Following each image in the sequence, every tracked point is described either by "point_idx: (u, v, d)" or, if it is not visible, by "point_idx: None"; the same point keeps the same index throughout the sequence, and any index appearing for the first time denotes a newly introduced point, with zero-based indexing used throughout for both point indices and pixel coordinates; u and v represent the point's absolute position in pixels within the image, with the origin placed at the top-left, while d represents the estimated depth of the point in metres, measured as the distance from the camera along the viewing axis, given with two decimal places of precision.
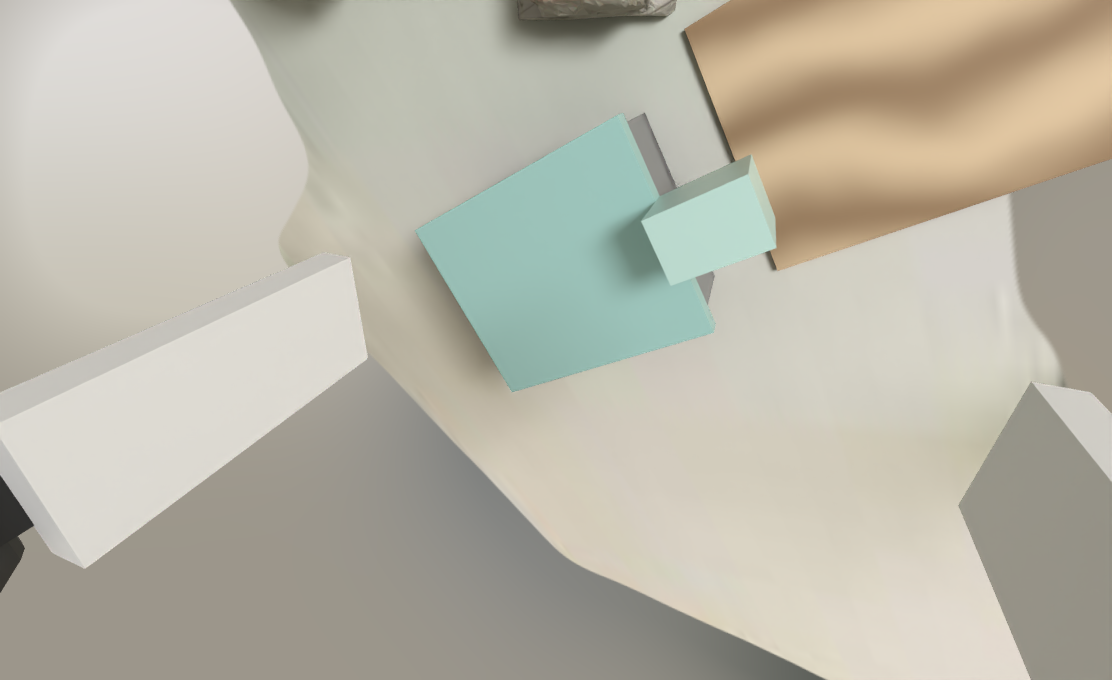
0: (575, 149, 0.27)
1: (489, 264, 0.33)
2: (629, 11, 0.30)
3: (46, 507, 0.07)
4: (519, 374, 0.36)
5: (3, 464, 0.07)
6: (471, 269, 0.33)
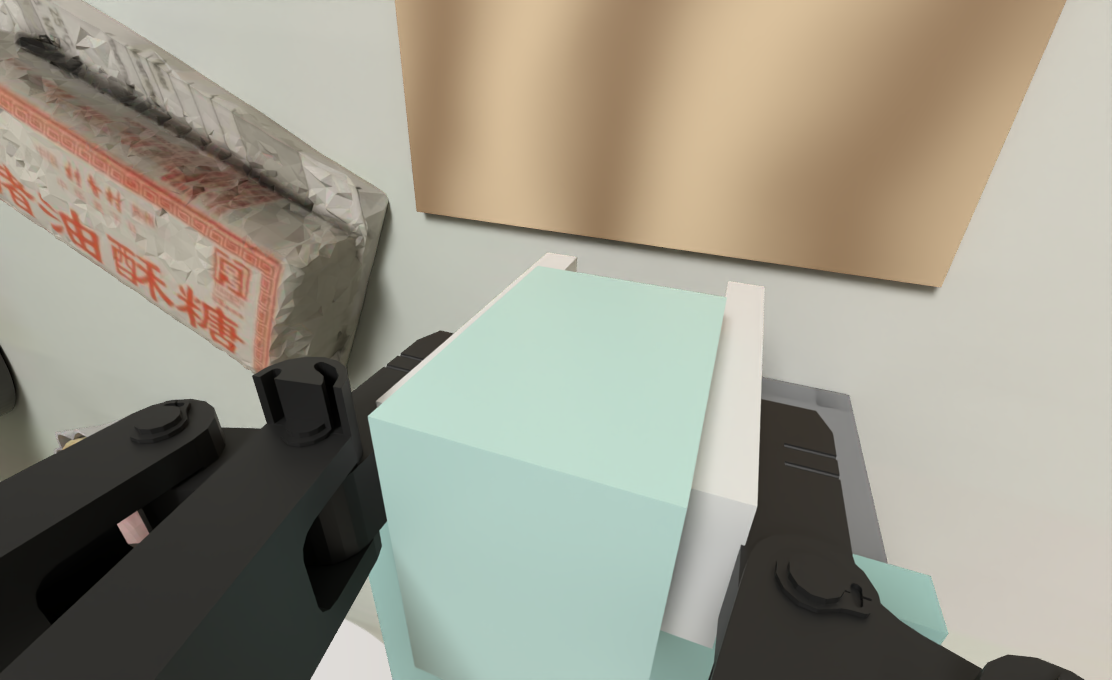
0: None
1: None
2: (357, 257, 0.19)
3: None
4: None
5: None
6: None
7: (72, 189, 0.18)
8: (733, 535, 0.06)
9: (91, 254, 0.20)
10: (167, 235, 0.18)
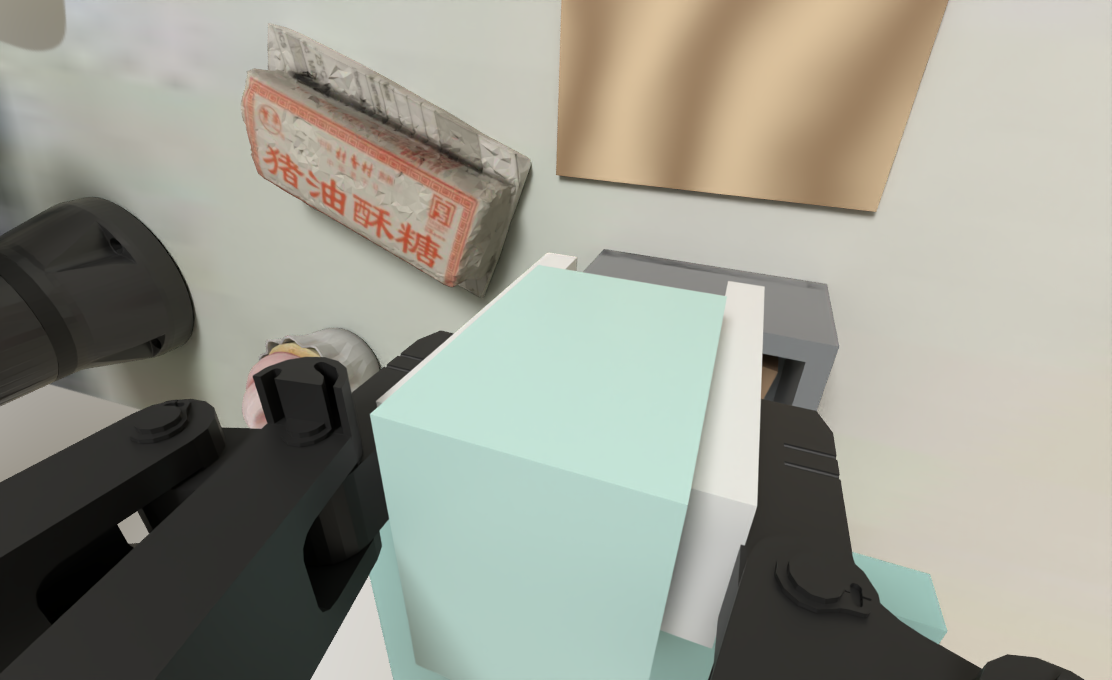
0: None
1: None
2: (510, 202, 0.30)
3: None
4: None
5: None
6: None
7: (337, 165, 0.29)
8: (733, 535, 0.06)
9: (336, 209, 0.31)
10: (400, 189, 0.28)
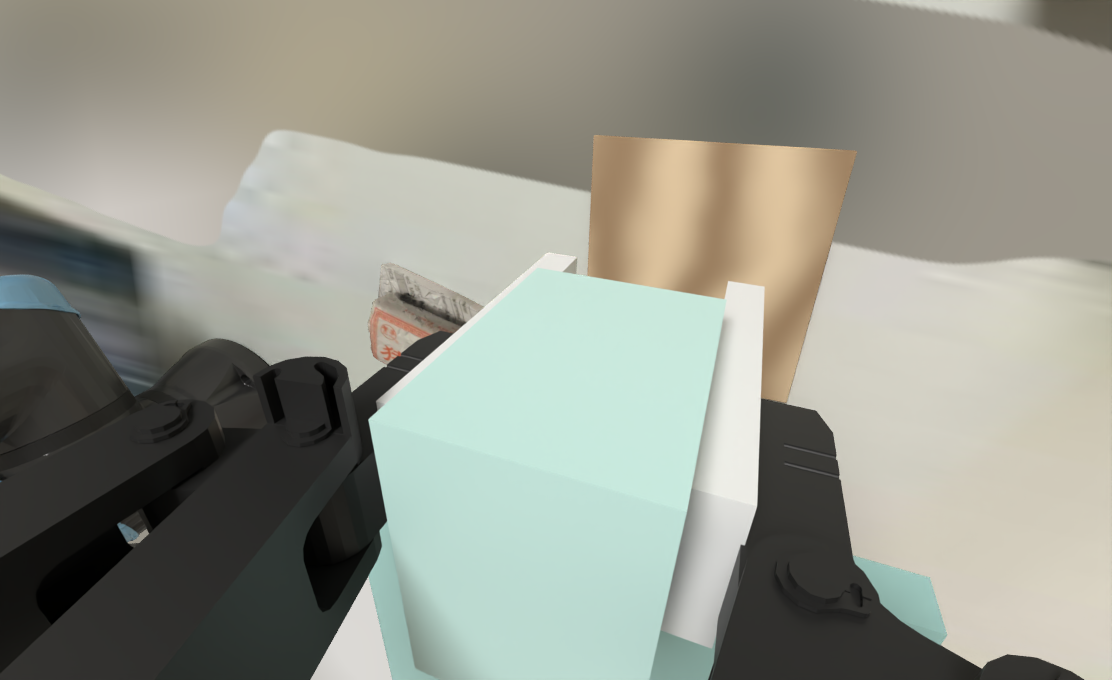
0: None
1: None
2: None
3: None
4: None
5: None
6: None
7: None
8: (733, 535, 0.06)
9: None
10: None
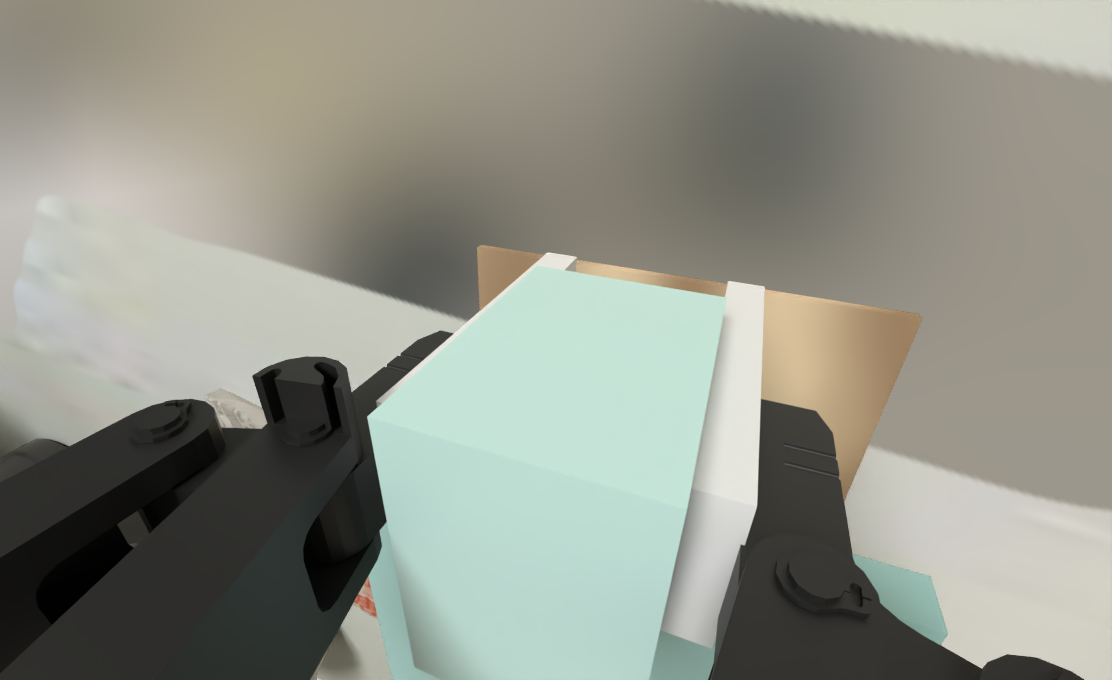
0: None
1: None
2: None
3: None
4: None
5: None
6: None
7: None
8: (733, 535, 0.06)
9: None
10: None
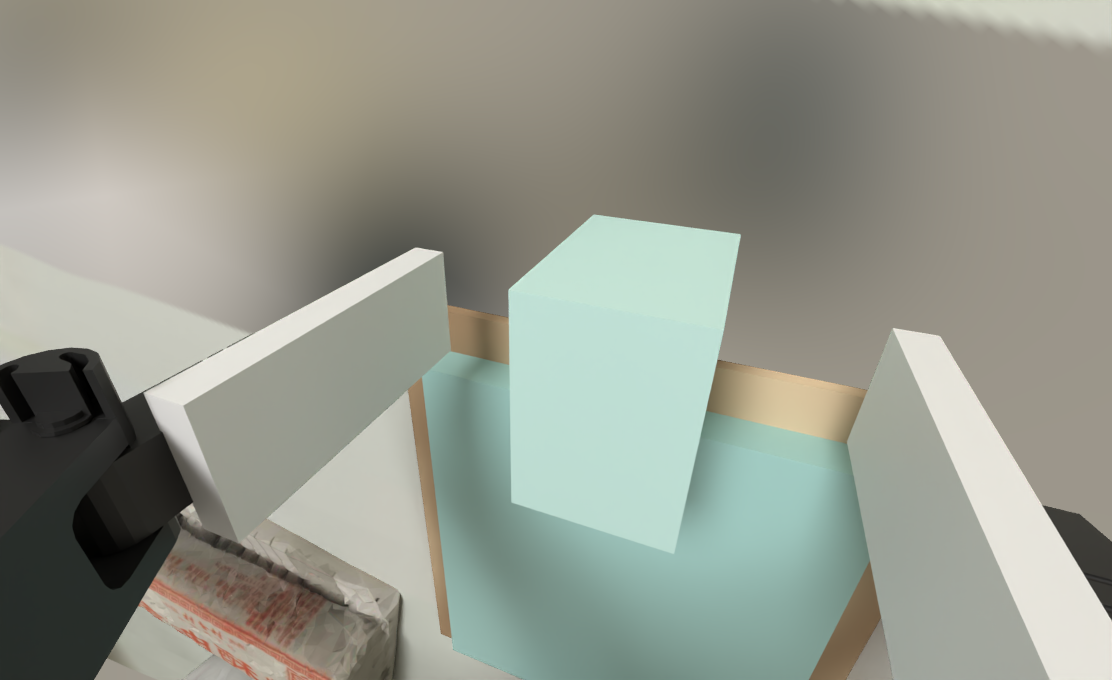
0: (441, 442, 0.17)
1: (538, 632, 0.20)
2: (384, 633, 0.26)
3: (214, 483, 0.08)
4: None
5: (180, 442, 0.07)
6: (532, 652, 0.21)
7: (188, 623, 0.26)
8: None
9: (204, 647, 0.28)
10: (254, 654, 0.25)
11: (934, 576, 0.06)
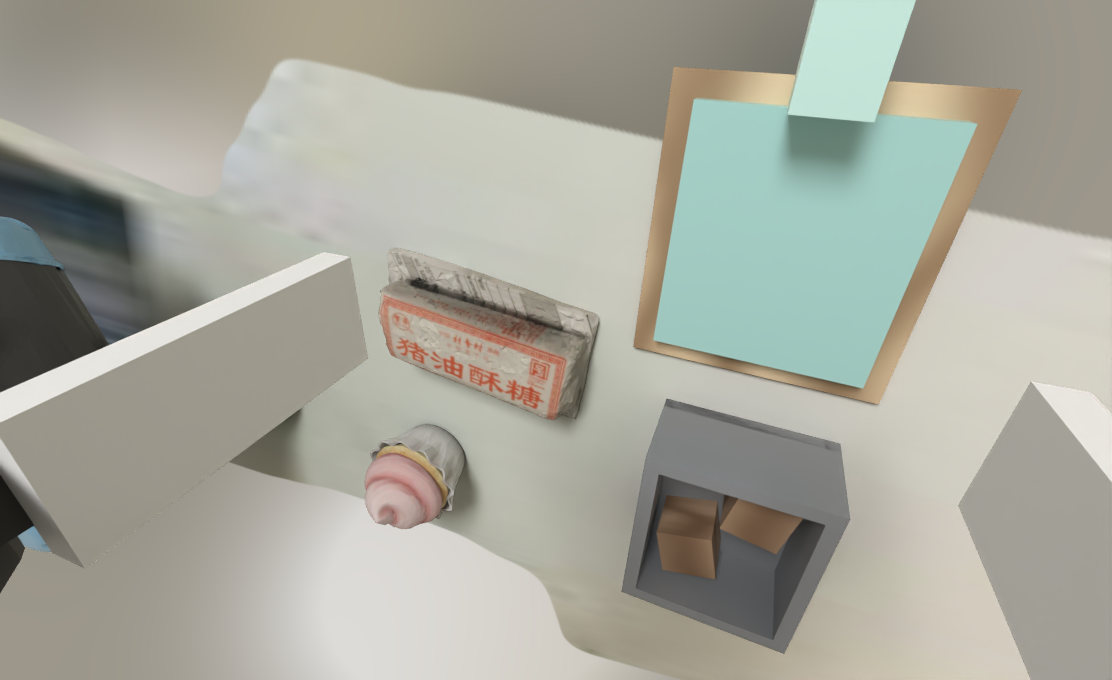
0: (693, 154, 0.29)
1: (725, 302, 0.32)
2: (587, 348, 0.38)
3: (46, 507, 0.07)
4: (850, 364, 0.31)
5: (3, 464, 0.07)
6: (717, 322, 0.33)
7: (454, 346, 0.39)
8: None
9: (456, 375, 0.40)
10: (505, 357, 0.37)
11: None
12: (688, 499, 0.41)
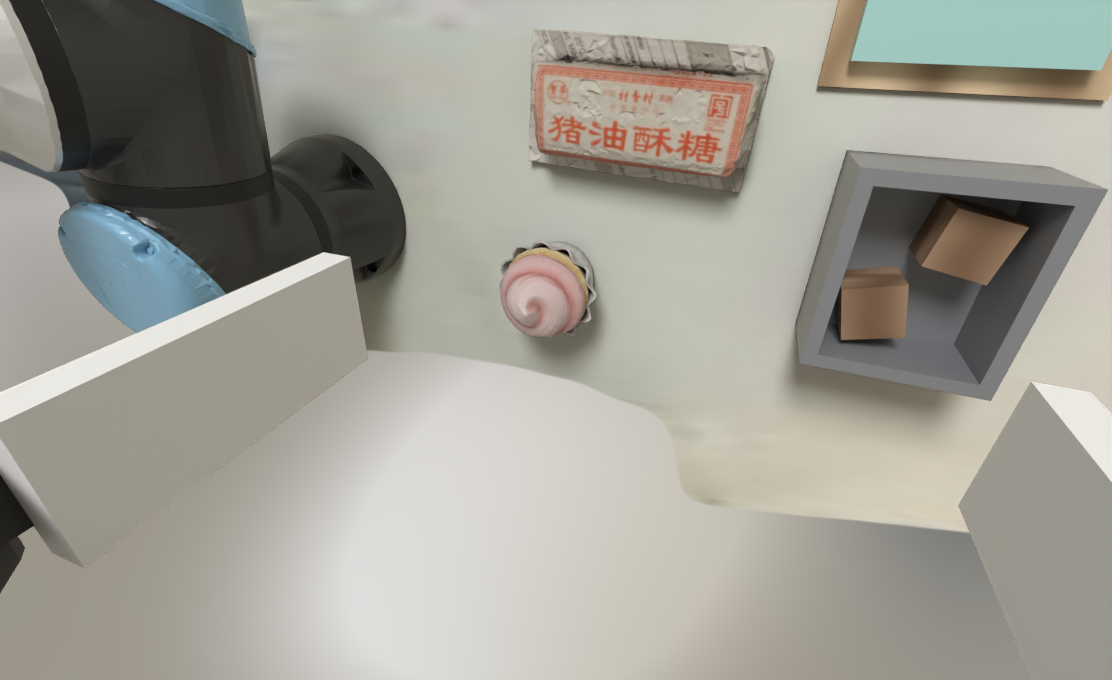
0: None
1: None
2: (762, 91, 0.36)
3: (46, 507, 0.07)
4: (1089, 41, 0.29)
5: (3, 464, 0.07)
6: (933, 19, 0.31)
7: (619, 106, 0.37)
8: None
9: (617, 147, 0.38)
10: (679, 103, 0.35)
11: None
12: (863, 269, 0.39)
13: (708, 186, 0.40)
